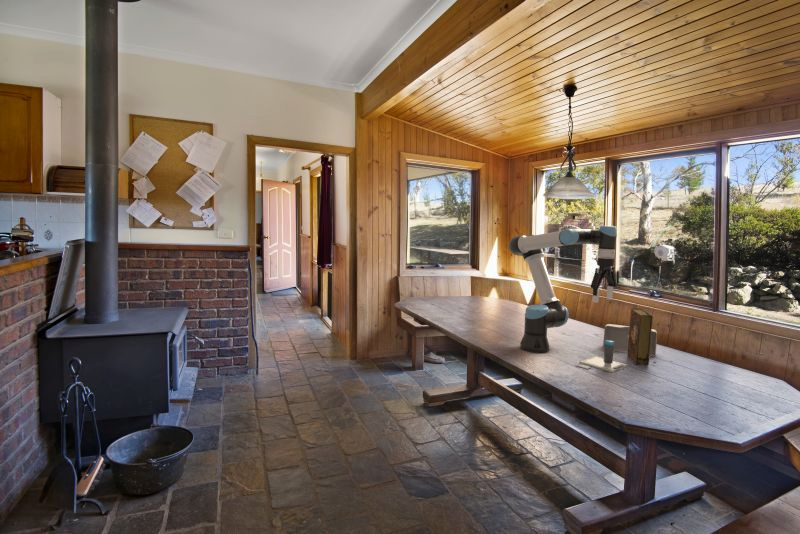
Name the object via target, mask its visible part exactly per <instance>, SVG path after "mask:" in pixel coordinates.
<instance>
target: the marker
mask: <svg viewBox="0 0 800 534" xmlns="http://www.w3.org/2000/svg"><path fill="white" fill-rule="evenodd" d="M614 352H615V351H614V341H610V340H605V347H604V349H603V358H604V360H603V362H604V366H606V367H611V363H613V361H614Z"/></svg>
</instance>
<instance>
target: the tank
mask: <svg viewBox="0 0 800 534" xmlns="http://www.w3.org/2000/svg"><path fill="white" fill-rule="evenodd" d="M629 328H630V325H629V326H628V325H619V324H610V323H606V325H605V326H604V329H603V330H604V331H603V332H604V333H603V340H602V341H603V342H602V349H603V350H604V347H605V340H610V341H614V352H617V351H618V352H619V353H624V352H625V354H627V352H628V340H629ZM657 339H658V332H657V330H656V329H653V328H652V332H651V344H650V355H649V357H651V356H653V358H654V357H655V356H656V355H657V342H658V341H657ZM618 352H617V353H618Z"/></svg>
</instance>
